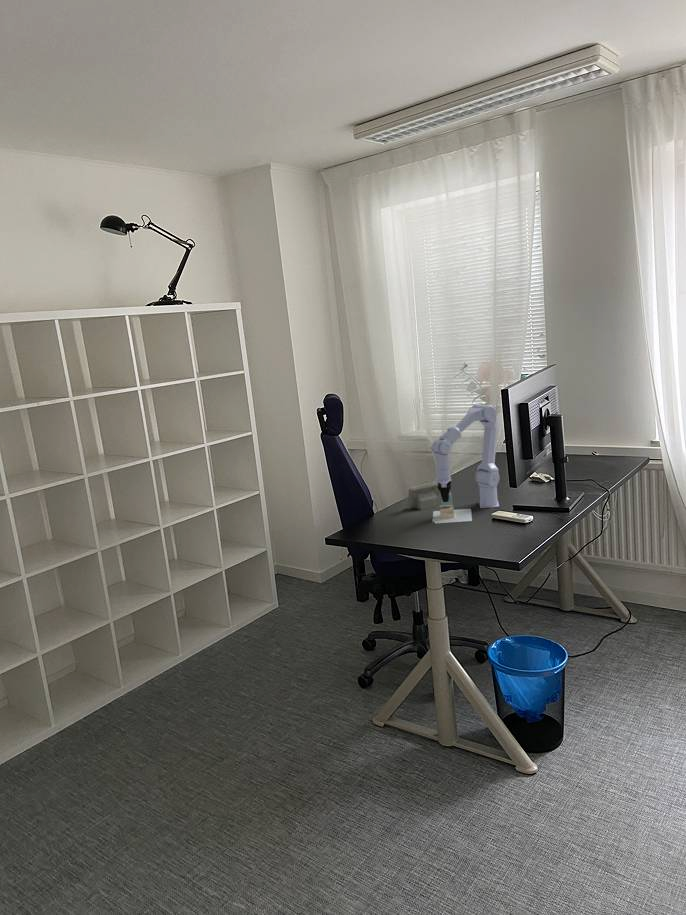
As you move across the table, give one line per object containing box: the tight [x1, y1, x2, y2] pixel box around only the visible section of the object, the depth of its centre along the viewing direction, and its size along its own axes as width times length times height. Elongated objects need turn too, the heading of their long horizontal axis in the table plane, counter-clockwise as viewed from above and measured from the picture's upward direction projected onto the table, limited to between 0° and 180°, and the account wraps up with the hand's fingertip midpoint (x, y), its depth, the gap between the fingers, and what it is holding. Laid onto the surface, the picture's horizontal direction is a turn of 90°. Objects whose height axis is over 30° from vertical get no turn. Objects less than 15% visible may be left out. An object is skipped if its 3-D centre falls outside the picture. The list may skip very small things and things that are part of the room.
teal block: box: [439, 492, 453, 506], centre depth 295 cm, size 4×4×4 cm
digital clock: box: [406, 481, 440, 511], centre depth 315 cm, size 16×9×11 cm, turn 103°
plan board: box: [432, 508, 473, 524], centre depth 297 cm, size 18×16×1 cm
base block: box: [439, 504, 455, 519], centre depth 296 cm, size 6×6×4 cm
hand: (445, 500), depth 296 cm, fingers closed on teal block, 4 cm apart
